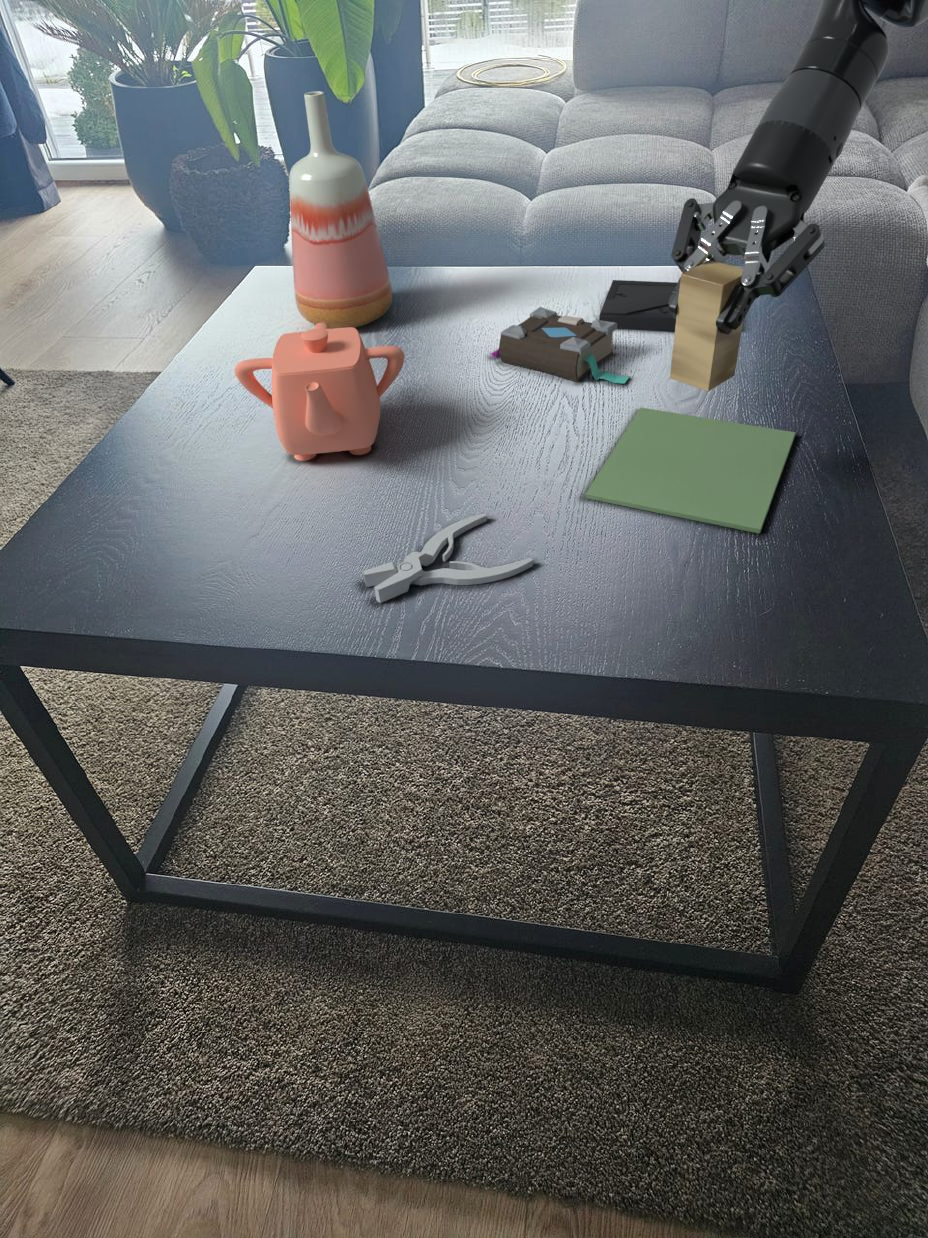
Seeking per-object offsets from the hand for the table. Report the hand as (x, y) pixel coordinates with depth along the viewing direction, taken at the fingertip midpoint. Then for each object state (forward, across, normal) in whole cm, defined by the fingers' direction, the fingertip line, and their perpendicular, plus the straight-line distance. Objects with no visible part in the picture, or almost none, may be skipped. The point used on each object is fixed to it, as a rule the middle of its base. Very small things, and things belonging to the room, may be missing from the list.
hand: (698, 321), depth 78 cm
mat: (+9, -2, +17) cm, 19 cm away
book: (+1, -30, +26) cm, 39 cm away
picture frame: (-13, -29, +40) cm, 51 cm away
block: (+3, 0, +6) cm, 6 cm away
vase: (+8, -65, +18) cm, 68 cm away
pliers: (+31, -9, -5) cm, 33 cm away
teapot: (+26, -37, +1) cm, 45 cm away
